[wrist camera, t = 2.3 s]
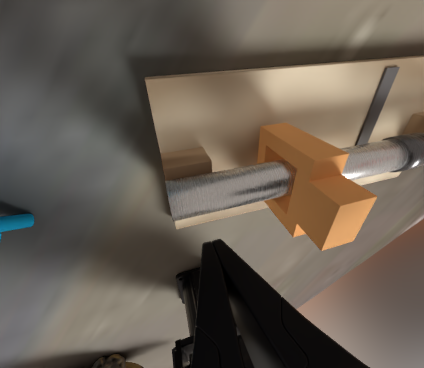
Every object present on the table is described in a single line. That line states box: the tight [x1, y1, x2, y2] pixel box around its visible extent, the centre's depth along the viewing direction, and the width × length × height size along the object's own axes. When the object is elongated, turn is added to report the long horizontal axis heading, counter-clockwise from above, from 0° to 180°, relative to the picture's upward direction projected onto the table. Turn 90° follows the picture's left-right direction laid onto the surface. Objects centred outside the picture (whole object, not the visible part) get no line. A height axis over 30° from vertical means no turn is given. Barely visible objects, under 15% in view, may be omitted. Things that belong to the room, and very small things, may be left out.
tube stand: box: [145, 55, 424, 229], centre depth 16 cm, size 12×26×6 cm, turn 92°
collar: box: [257, 123, 377, 251], centre depth 12 cm, size 5×2×7 cm, turn 2°
